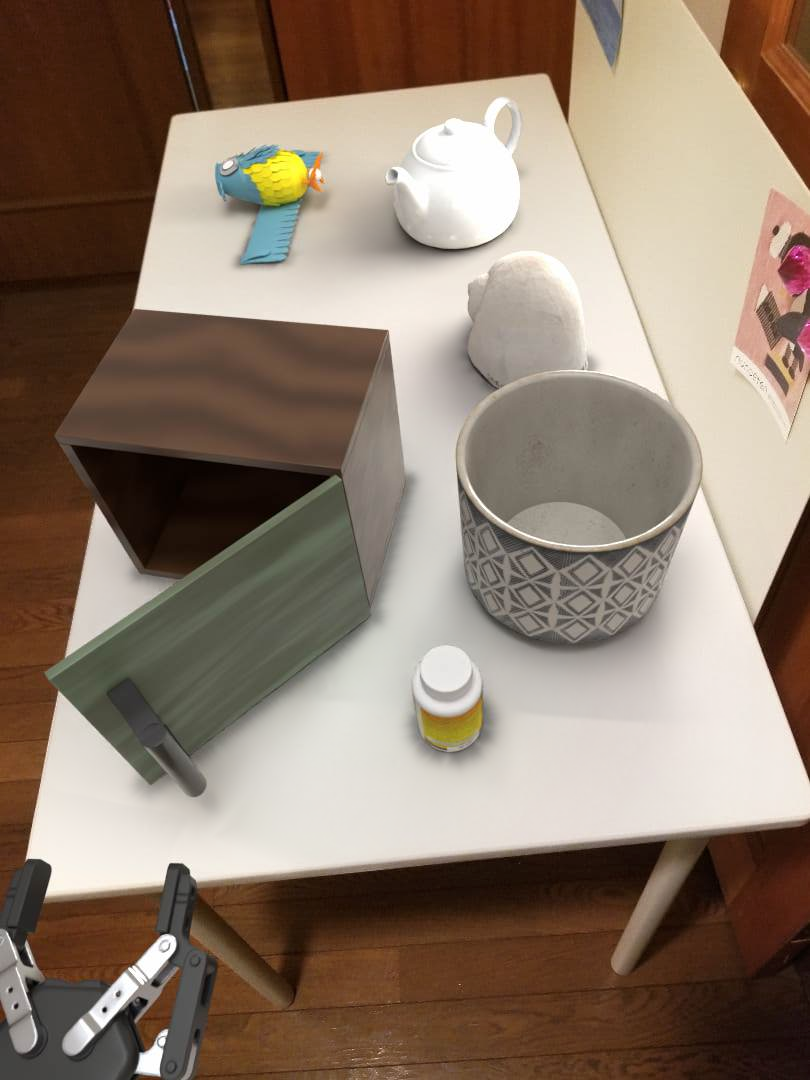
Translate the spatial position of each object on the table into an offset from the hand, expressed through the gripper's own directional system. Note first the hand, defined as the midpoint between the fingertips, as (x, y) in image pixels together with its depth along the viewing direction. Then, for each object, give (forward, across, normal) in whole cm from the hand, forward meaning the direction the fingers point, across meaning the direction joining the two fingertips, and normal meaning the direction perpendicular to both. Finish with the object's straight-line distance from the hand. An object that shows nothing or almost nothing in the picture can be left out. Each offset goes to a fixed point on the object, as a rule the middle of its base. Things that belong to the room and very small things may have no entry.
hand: (109, 863), depth 47 cm
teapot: (+92, -20, +18) cm, 95 cm away
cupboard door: (+17, -5, +17) cm, 24 cm away
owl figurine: (+96, +7, +18) cm, 98 cm away
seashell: (+64, -28, +18) cm, 72 cm away
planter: (+32, -30, +17) cm, 47 cm away
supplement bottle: (+16, -20, +17) cm, 31 cm away
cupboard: (+38, -1, +17) cm, 41 cm away
